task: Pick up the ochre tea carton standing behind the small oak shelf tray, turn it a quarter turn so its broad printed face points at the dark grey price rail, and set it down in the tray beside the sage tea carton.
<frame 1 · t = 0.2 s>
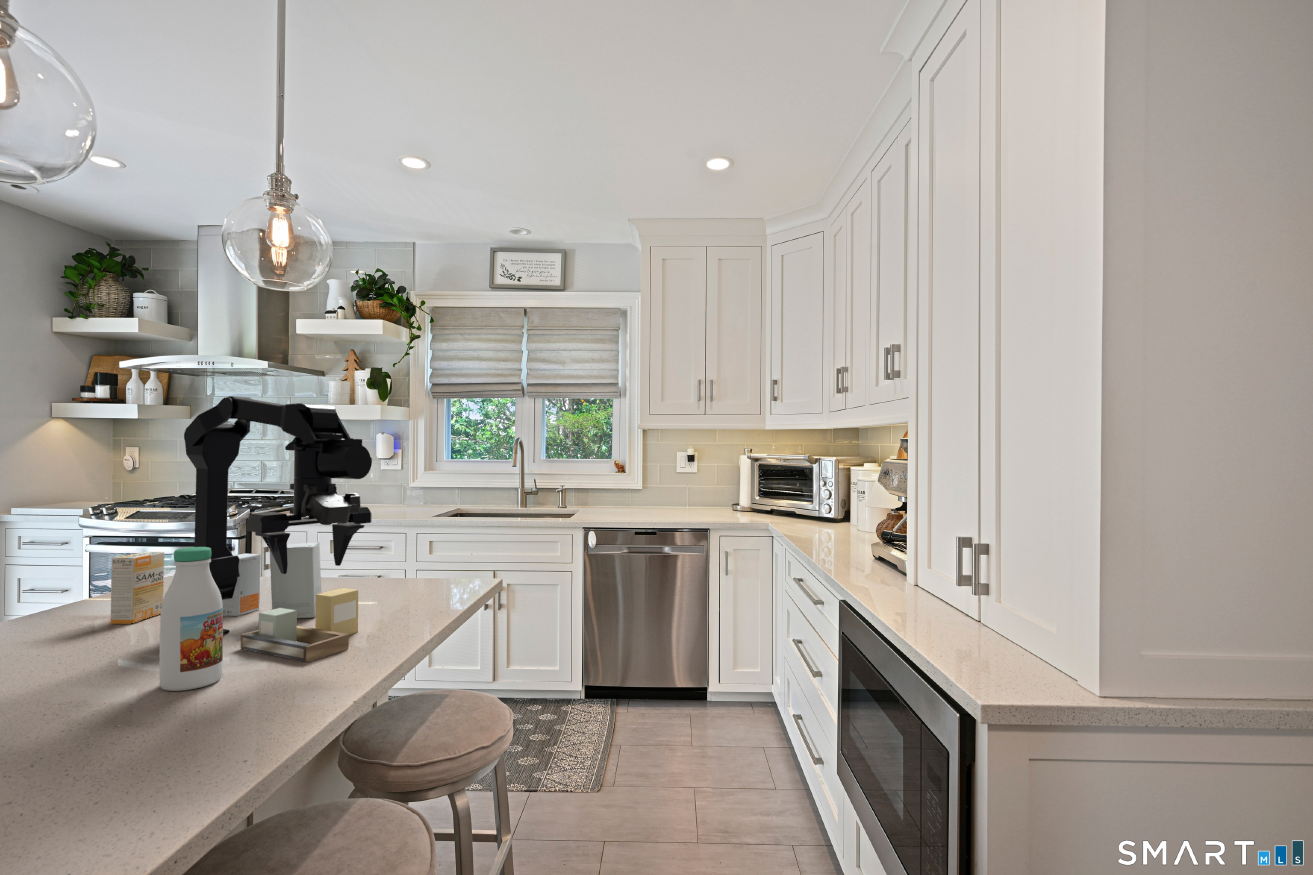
hand: (311, 569, 114), 14 cm above the kitchen island, tool pointing down, fingers open, 9 cm apart
shelf tray: (295, 648, 116), on the kitchen island
supplement box: (138, 619, 135), on the kitchen island
milk bottle: (191, 684, 100), on the kitchen island
skincare box 2: (296, 617, 138), on the kitchen island
sage carton: (277, 645, 118), resting in shelf tray
ochre carton: (337, 635, 125), on the kitchen island
skincare box: (241, 613, 141), on the kitchen island
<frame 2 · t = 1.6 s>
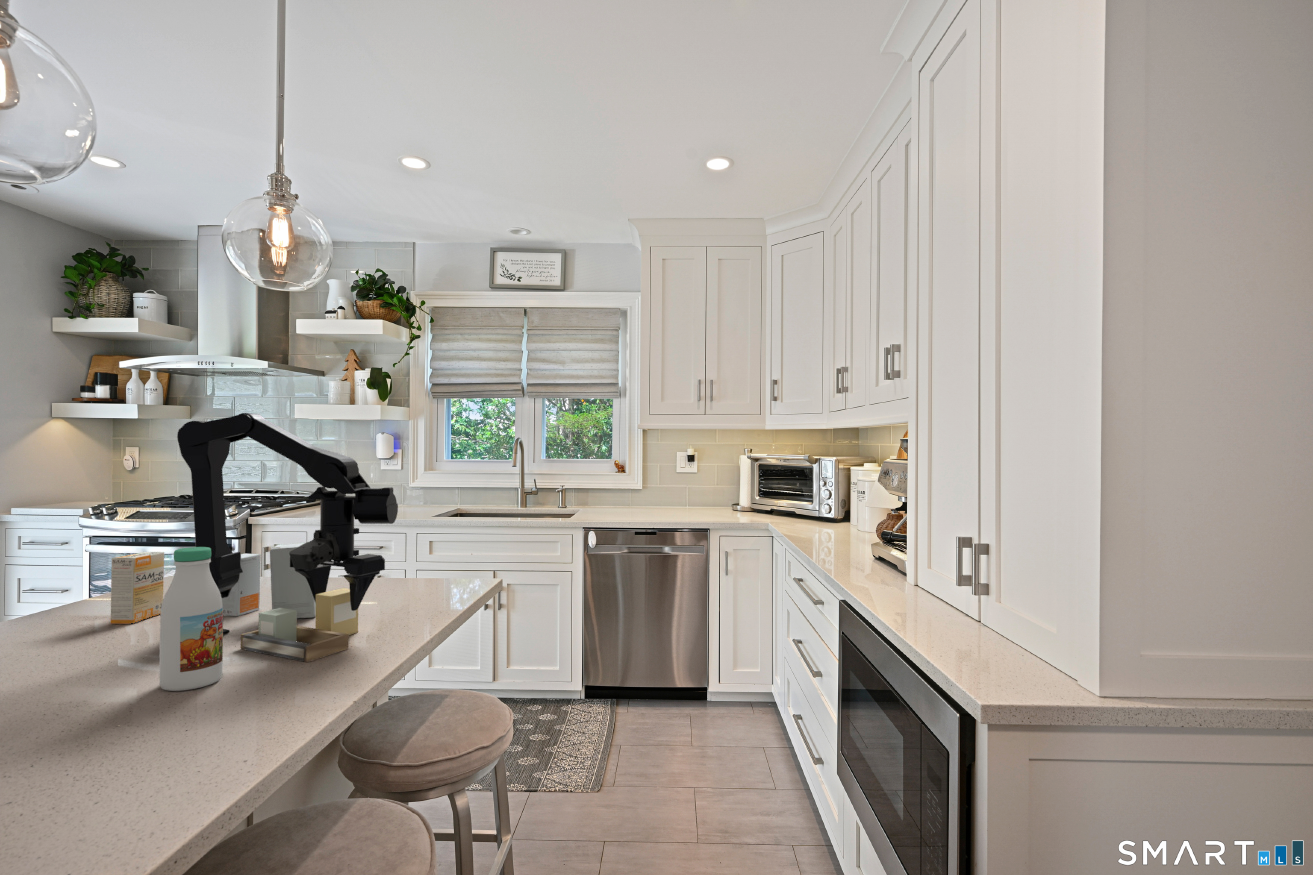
hand: (336, 607, 125), 5 cm above the kitchen island, tool pointing down, fingers open, 9 cm apart
nothing on the kitchen island moved.
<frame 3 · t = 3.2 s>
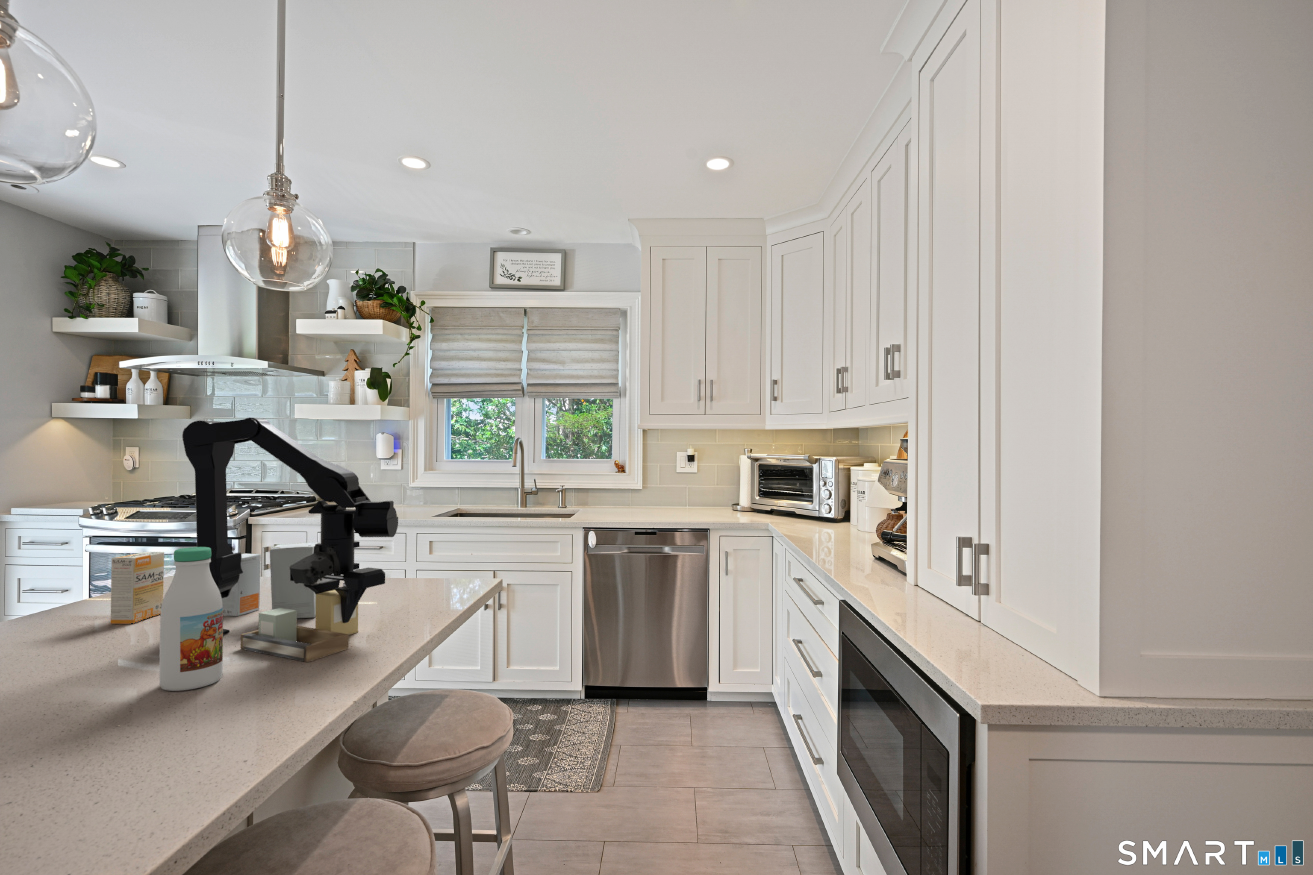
hand: (337, 621, 125), 3 cm above the kitchen island, tool pointing down, fingers closed on ochre carton, 4 cm apart
ochre carton: (337, 634, 125), on the kitchen island, touching gripper
everything else where it was.
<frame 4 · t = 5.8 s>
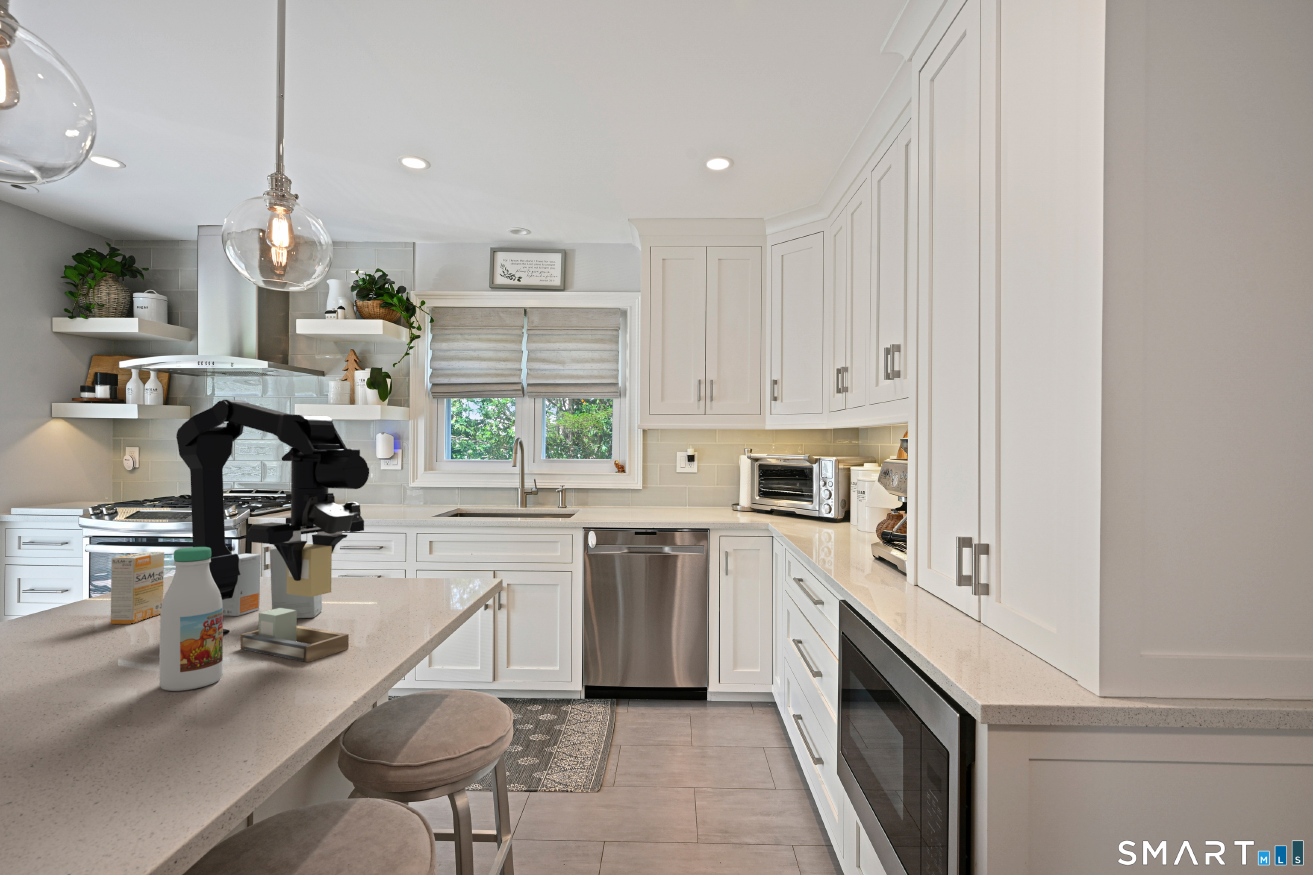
hand: (309, 578, 115), 12 cm above the kitchen island, tool pointing down, fingers closed on ochre carton, 4 cm apart
ochre carton: (309, 592, 115), point 10 cm above the kitchen island, touching gripper
everything else where it was.
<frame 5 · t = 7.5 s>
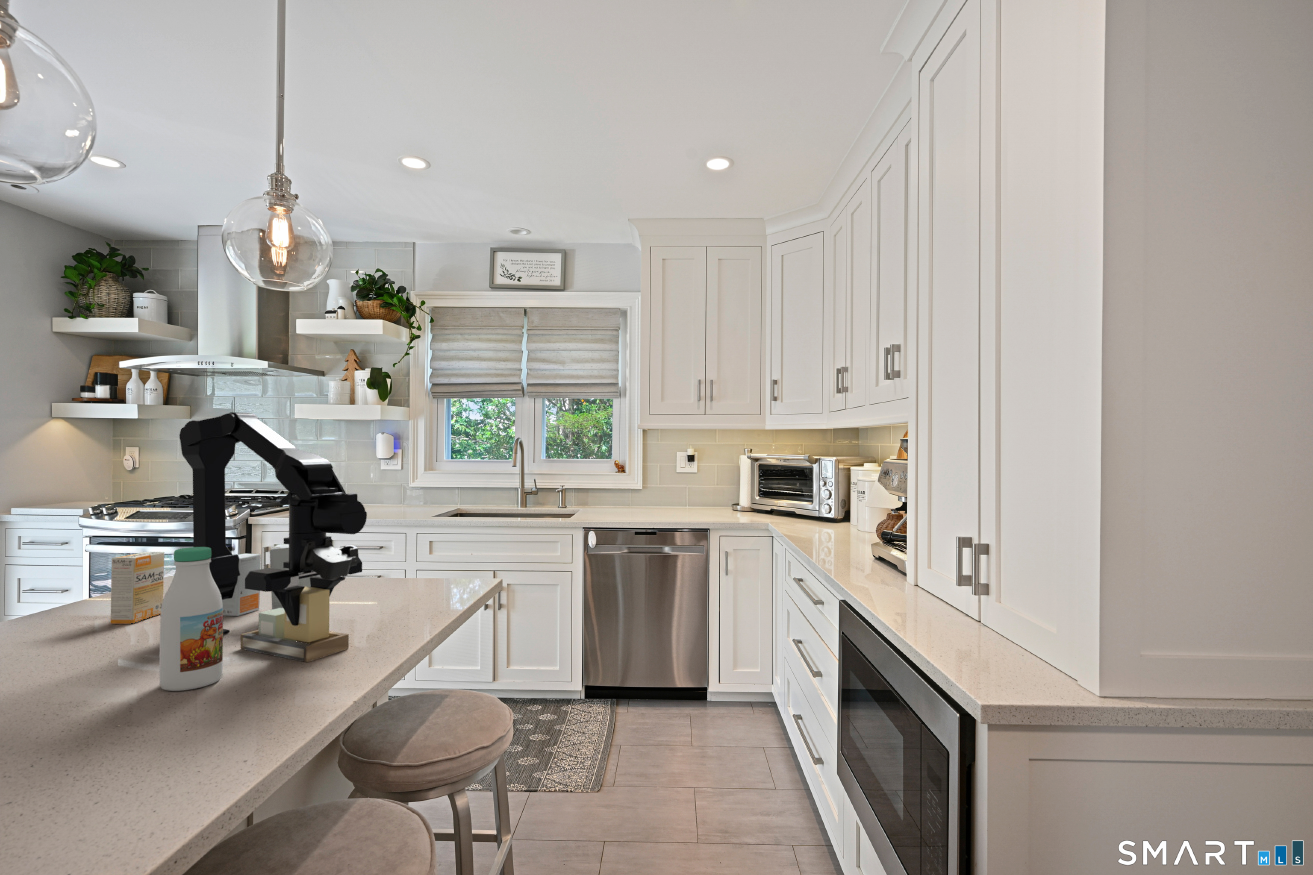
hand: (306, 622, 115), 5 cm above the kitchen island, tool pointing down, fingers closed on ochre carton, 4 cm apart
ochre carton: (306, 636, 115), point 2 cm above the kitchen island, touching gripper
everything else where it was.
when the fingers open (3 cm above the kitchen island, at t = 8.7 s): ochre carton stays where it is, resting in shelf tray.
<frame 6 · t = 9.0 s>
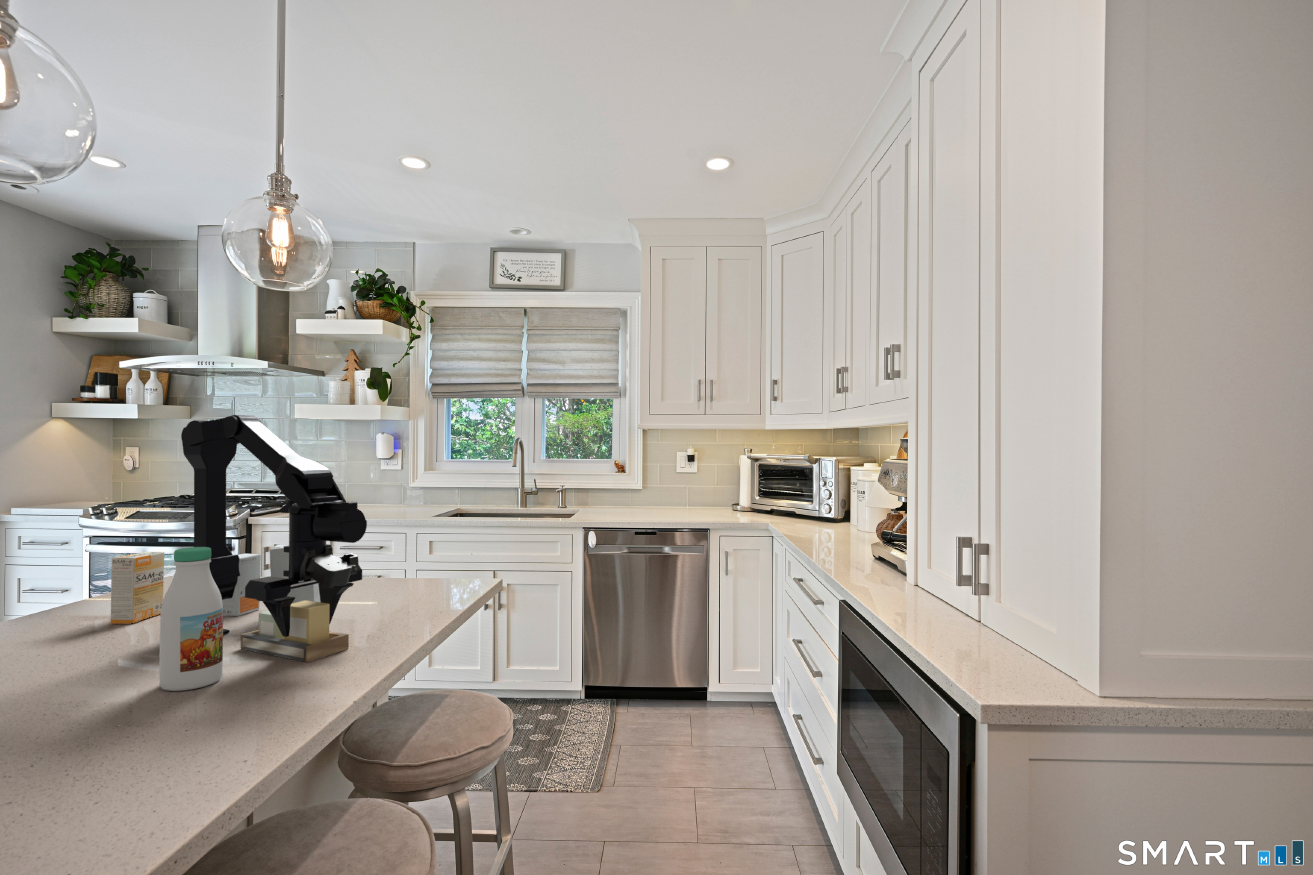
hand: (307, 630, 115), 3 cm above the kitchen island, tool pointing down, fingers open, 8 cm apart
ochre carton: (306, 651, 115), resting in shelf tray
everything else where it was.
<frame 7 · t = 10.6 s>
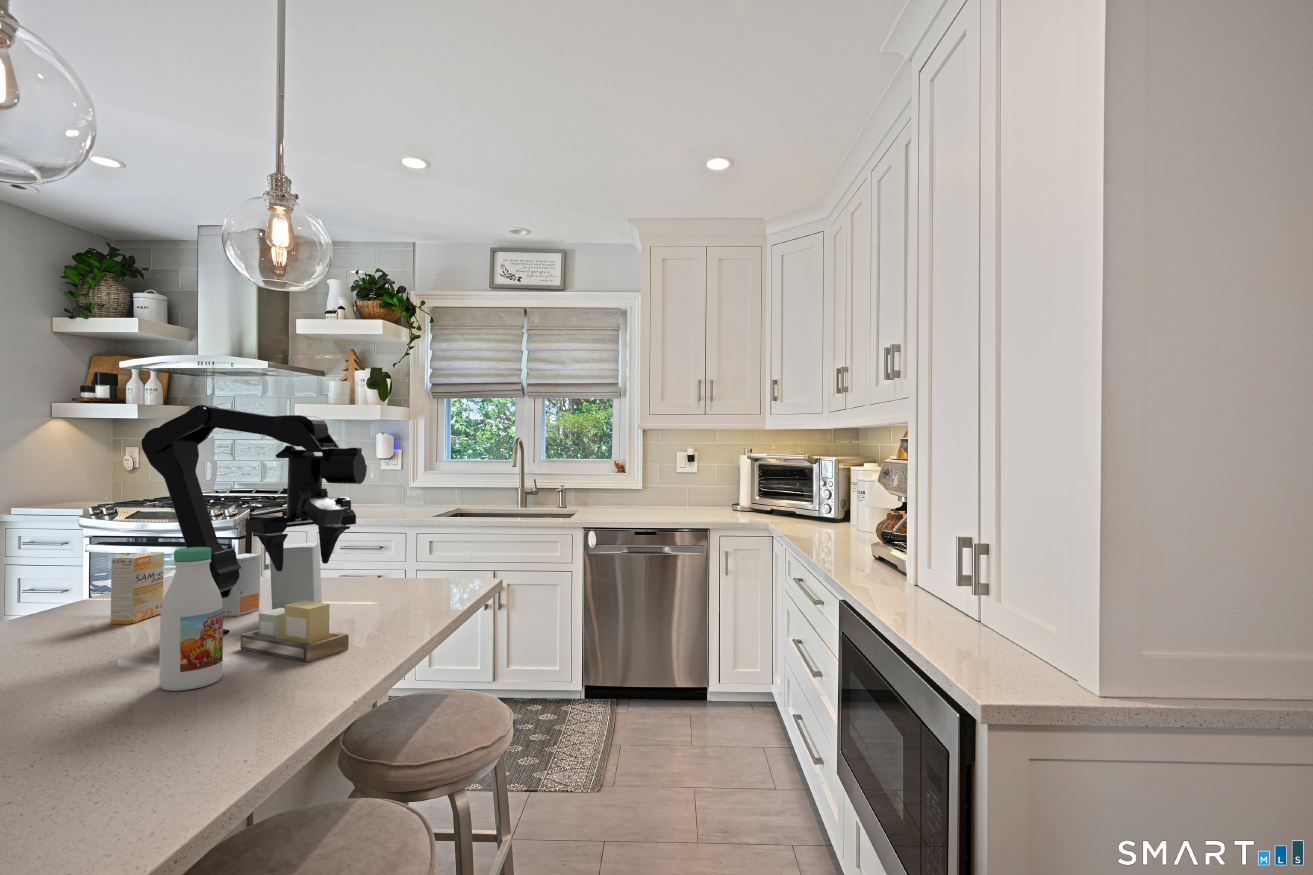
hand: (302, 567, 124), 13 cm above the kitchen island, tool pointing down, fingers open, 9 cm apart
nothing on the kitchen island moved.
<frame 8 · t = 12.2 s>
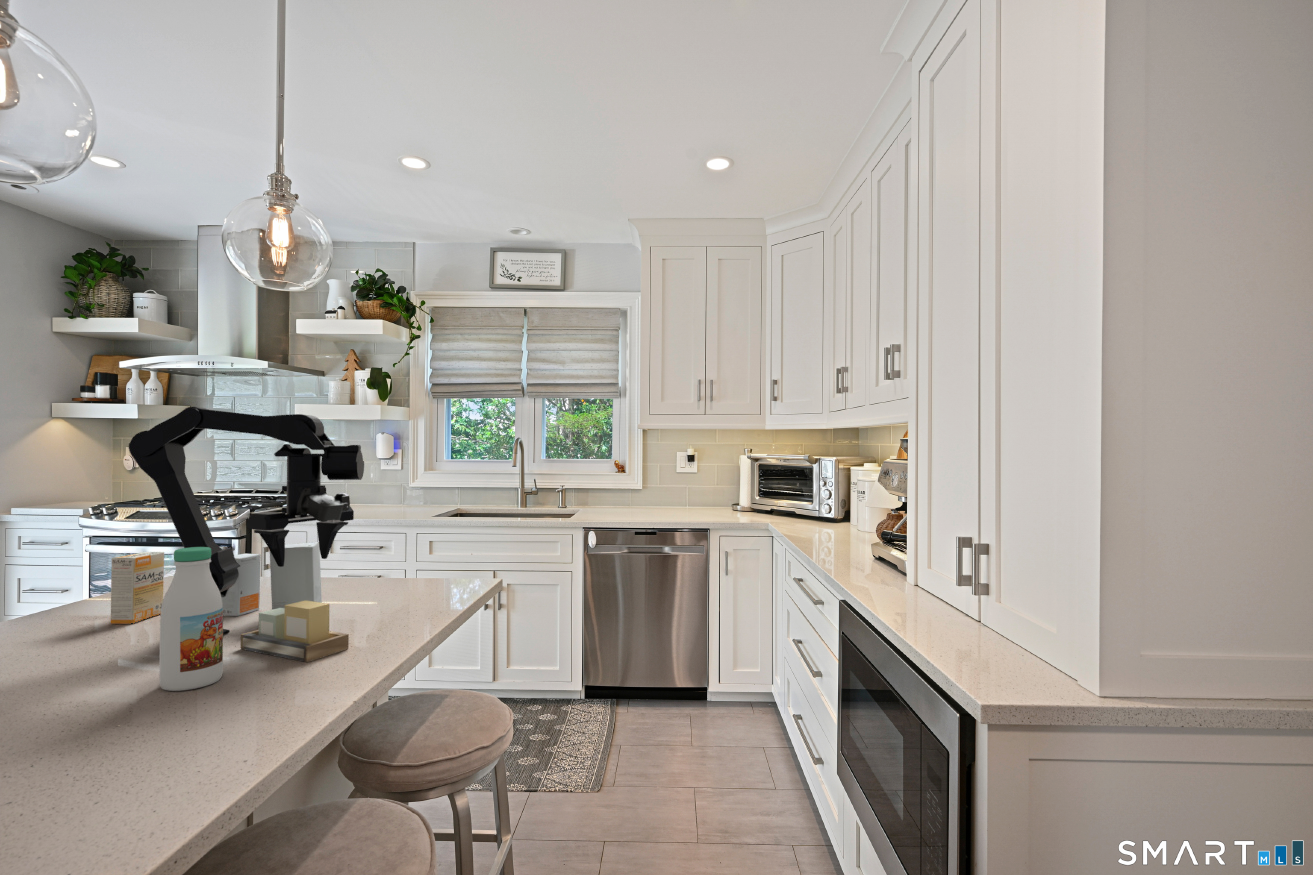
hand: (303, 562, 127), 13 cm above the kitchen island, tool pointing down, fingers open, 9 cm apart
nothing on the kitchen island moved.
at the end: ochre carton 0.4 cm from the target spot, resting in shelf tray; ochre carton tilted 0°; the gripper is holding nothing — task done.
